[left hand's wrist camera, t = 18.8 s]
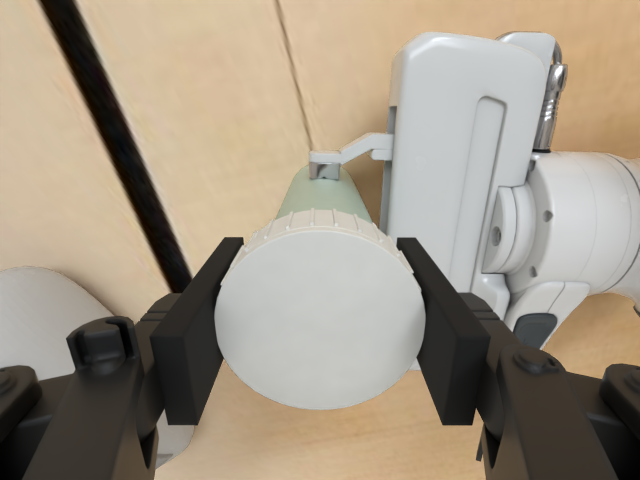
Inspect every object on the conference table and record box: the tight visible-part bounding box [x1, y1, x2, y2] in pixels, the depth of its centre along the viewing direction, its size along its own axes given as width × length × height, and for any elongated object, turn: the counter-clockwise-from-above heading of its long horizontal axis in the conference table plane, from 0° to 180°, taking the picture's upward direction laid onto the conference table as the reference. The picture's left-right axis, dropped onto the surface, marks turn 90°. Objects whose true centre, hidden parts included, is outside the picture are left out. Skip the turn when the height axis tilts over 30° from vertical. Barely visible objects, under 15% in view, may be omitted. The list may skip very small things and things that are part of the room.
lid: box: [214, 208, 426, 410], centre depth 11 cm, size 6×6×2 cm
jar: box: [275, 165, 373, 224], centre depth 20 cm, size 5×5×17 cm
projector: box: [0, 267, 194, 469], centre depth 26 cm, size 22×23×15 cm
